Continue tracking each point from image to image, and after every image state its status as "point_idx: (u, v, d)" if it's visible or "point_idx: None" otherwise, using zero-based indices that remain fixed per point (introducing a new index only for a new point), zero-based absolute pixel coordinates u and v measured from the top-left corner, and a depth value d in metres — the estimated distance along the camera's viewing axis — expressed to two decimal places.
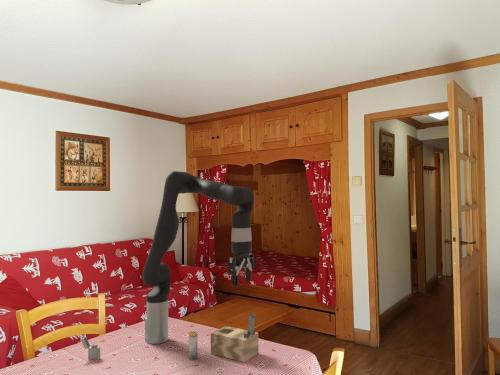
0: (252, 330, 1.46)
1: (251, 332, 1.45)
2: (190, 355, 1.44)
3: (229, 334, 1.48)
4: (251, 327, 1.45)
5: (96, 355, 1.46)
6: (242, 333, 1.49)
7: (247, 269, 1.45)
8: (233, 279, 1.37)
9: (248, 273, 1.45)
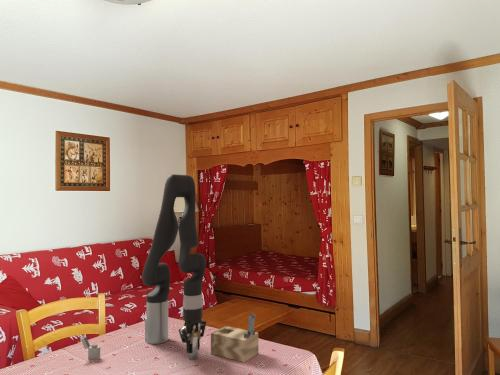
0: (252, 330, 1.46)
1: (251, 332, 1.45)
2: (190, 355, 1.44)
3: (229, 334, 1.48)
4: (251, 327, 1.45)
5: (96, 355, 1.46)
6: (242, 333, 1.49)
7: None
8: (187, 347, 1.43)
9: None
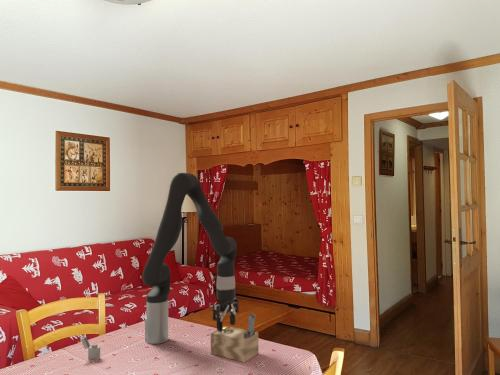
0: (252, 330, 1.46)
1: (251, 332, 1.45)
2: None
3: (229, 334, 1.48)
4: (251, 327, 1.45)
5: (96, 356, 1.46)
6: (242, 333, 1.49)
7: (231, 313, 1.56)
8: (217, 325, 1.48)
9: (232, 317, 1.55)
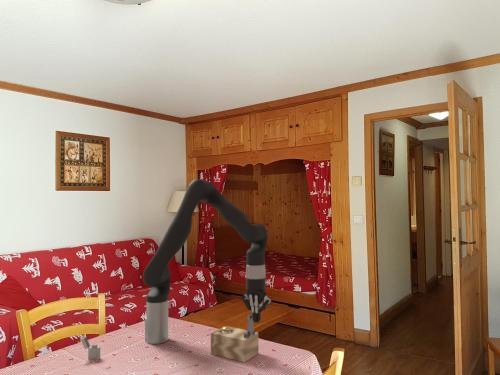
0: (252, 330, 1.46)
1: (251, 332, 1.45)
2: None
3: (229, 334, 1.48)
4: (250, 327, 1.45)
5: (96, 356, 1.46)
6: (242, 333, 1.49)
7: None
8: None
9: None
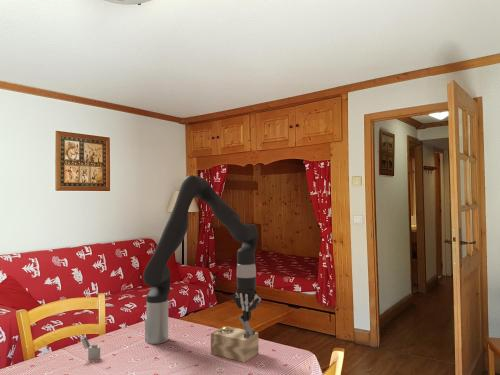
0: (250, 329, 1.46)
1: (249, 331, 1.46)
2: None
3: (229, 334, 1.48)
4: (247, 326, 1.46)
5: (96, 355, 1.46)
6: (242, 333, 1.49)
7: None
8: None
9: None
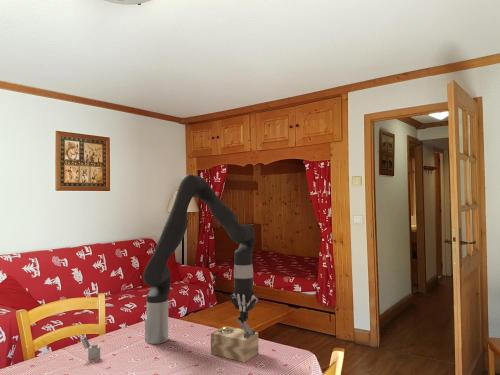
0: (249, 329, 1.47)
1: (249, 331, 1.46)
2: None
3: (229, 334, 1.48)
4: (245, 327, 1.46)
5: (96, 356, 1.46)
6: (242, 333, 1.49)
7: None
8: None
9: None
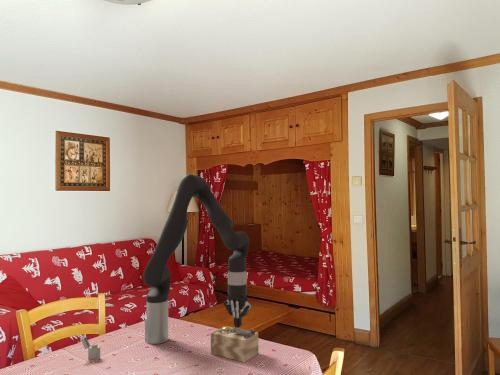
0: (247, 331, 1.47)
1: (247, 332, 1.46)
2: None
3: (229, 334, 1.48)
4: (242, 331, 1.47)
5: (96, 356, 1.46)
6: None
7: None
8: None
9: None
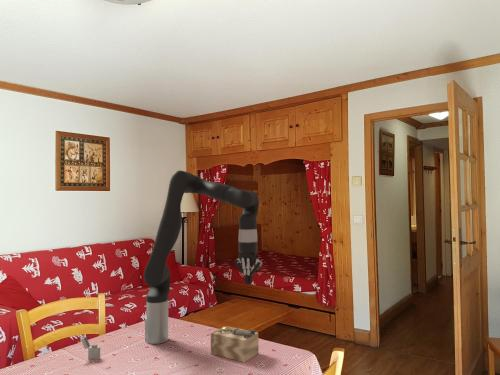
0: (247, 331, 1.47)
1: (247, 332, 1.46)
2: None
3: (229, 334, 1.48)
4: (242, 332, 1.47)
5: (96, 356, 1.46)
6: None
7: None
8: None
9: None
